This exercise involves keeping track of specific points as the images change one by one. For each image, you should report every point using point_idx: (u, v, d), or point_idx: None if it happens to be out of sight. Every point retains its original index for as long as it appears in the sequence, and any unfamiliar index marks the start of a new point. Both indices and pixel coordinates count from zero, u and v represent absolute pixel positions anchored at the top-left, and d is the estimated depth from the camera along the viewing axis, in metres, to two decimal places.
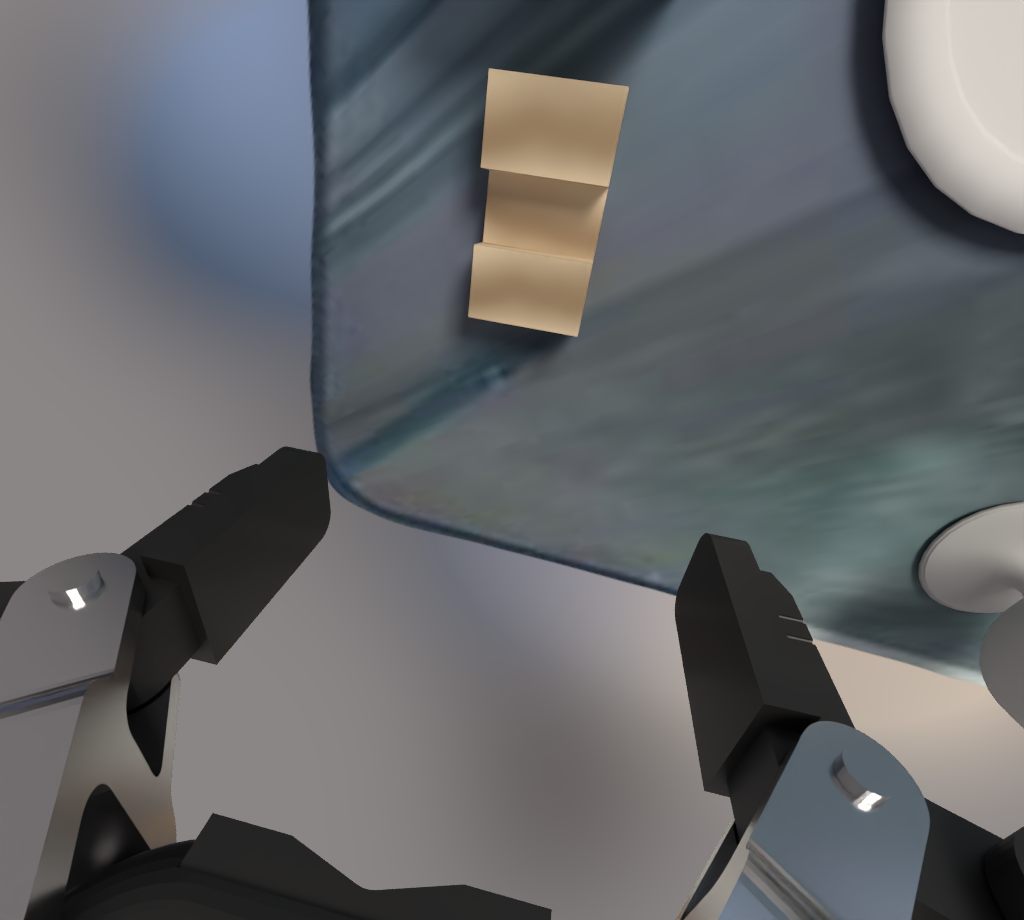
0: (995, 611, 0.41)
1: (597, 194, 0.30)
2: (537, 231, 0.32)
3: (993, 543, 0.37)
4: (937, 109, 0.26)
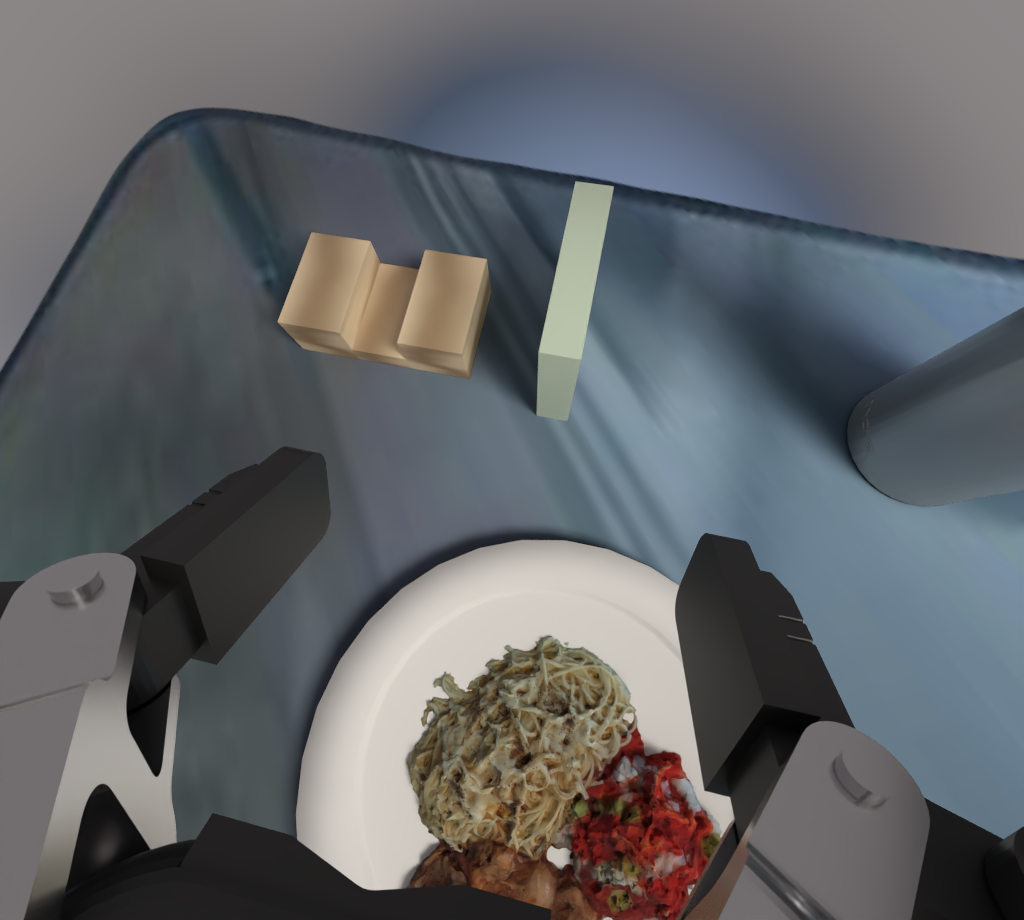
0: None
1: None
2: (381, 305, 0.37)
3: None
4: (427, 605, 0.31)
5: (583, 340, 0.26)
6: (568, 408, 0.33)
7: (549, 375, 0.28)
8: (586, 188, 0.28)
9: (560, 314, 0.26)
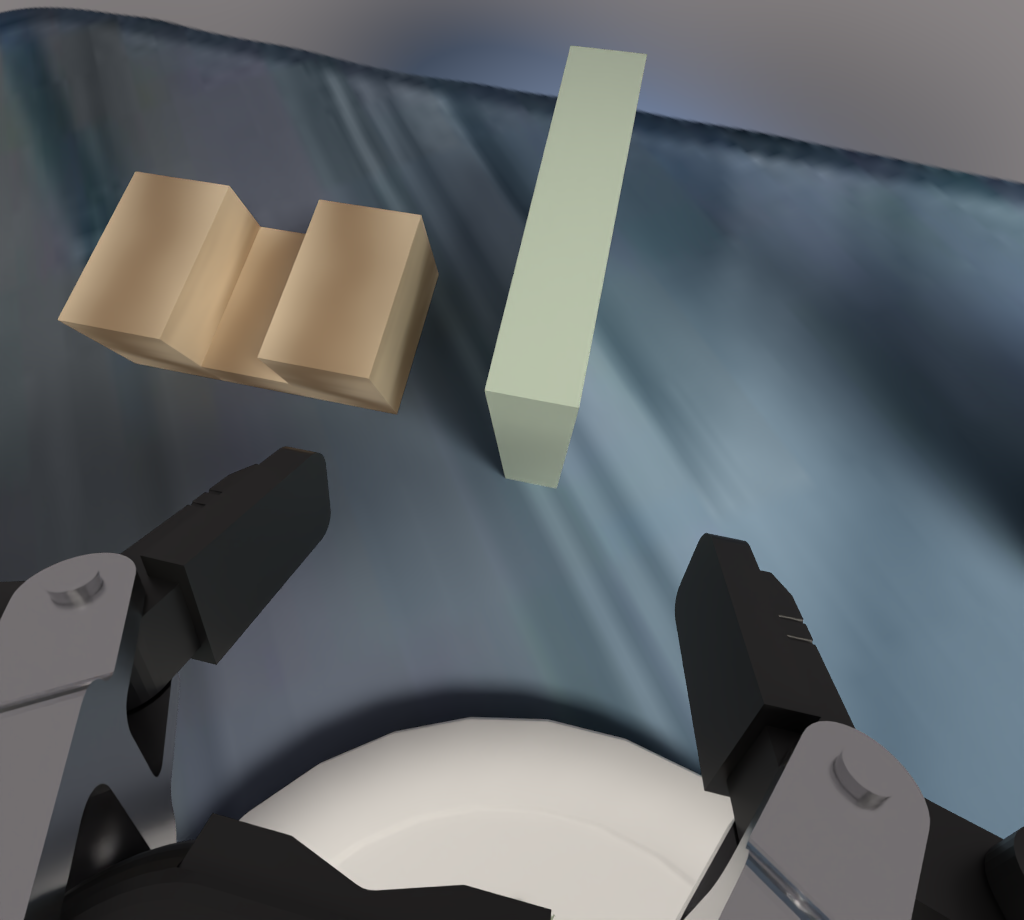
0: None
1: None
2: (256, 294, 0.22)
3: None
4: None
5: (584, 364, 0.12)
6: (557, 475, 0.18)
7: (516, 429, 0.14)
8: (592, 58, 0.14)
9: (535, 307, 0.12)
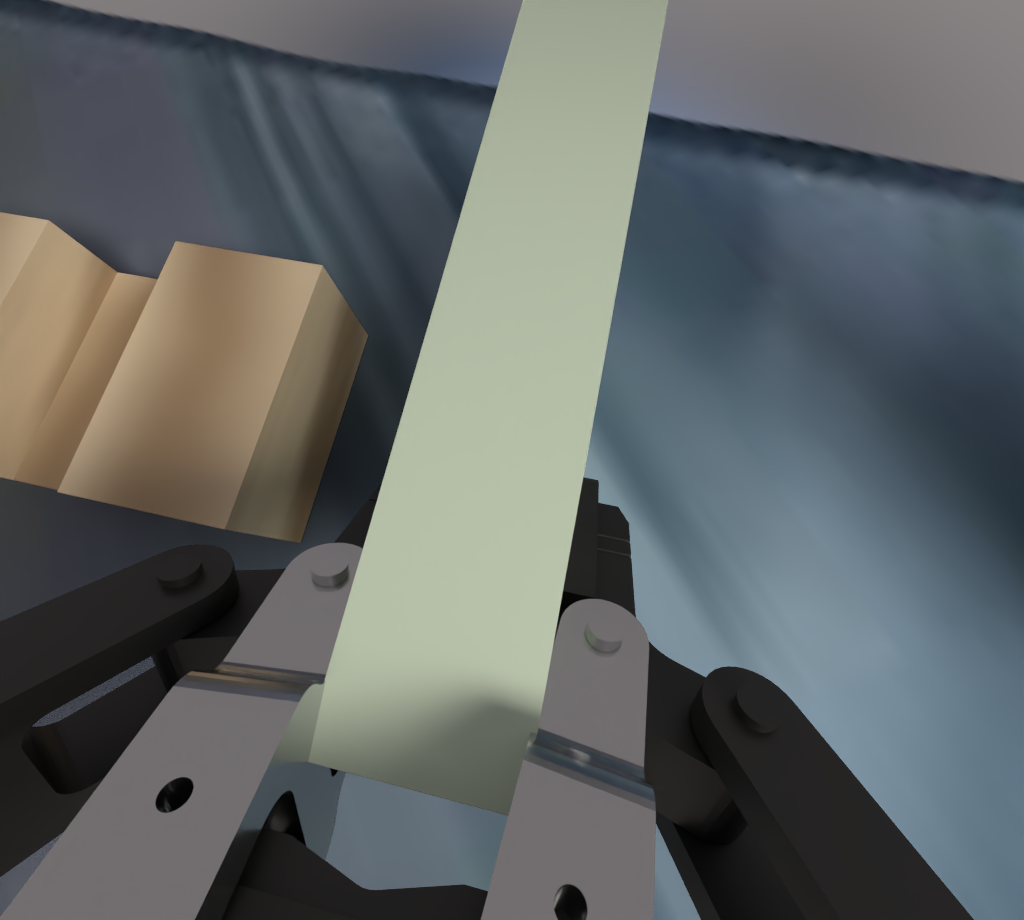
0: None
1: None
2: (102, 370, 0.16)
3: None
4: None
5: (538, 692, 0.05)
6: None
7: None
8: (566, 6, 0.08)
9: (434, 537, 0.05)
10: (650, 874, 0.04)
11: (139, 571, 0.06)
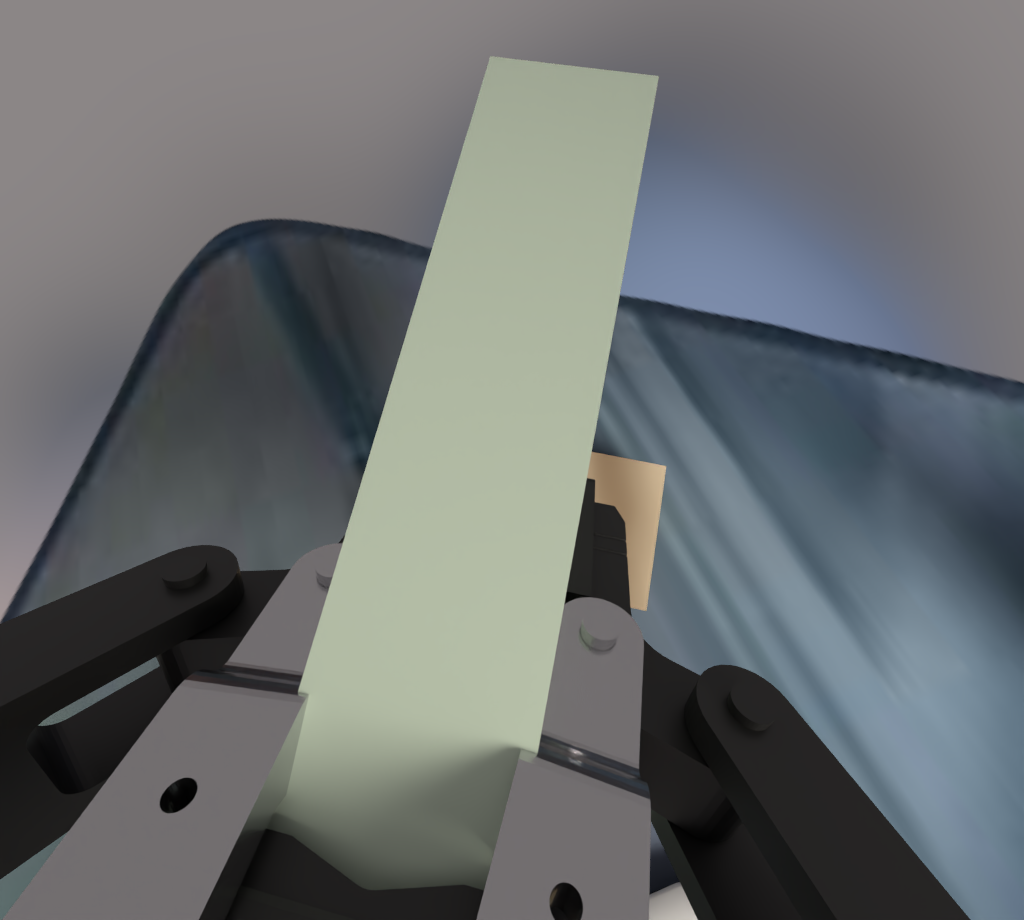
0: None
1: None
2: None
3: None
4: None
5: None
6: None
7: None
8: (535, 85, 0.06)
9: (346, 817, 0.04)
10: (644, 871, 0.04)
11: (145, 571, 0.06)
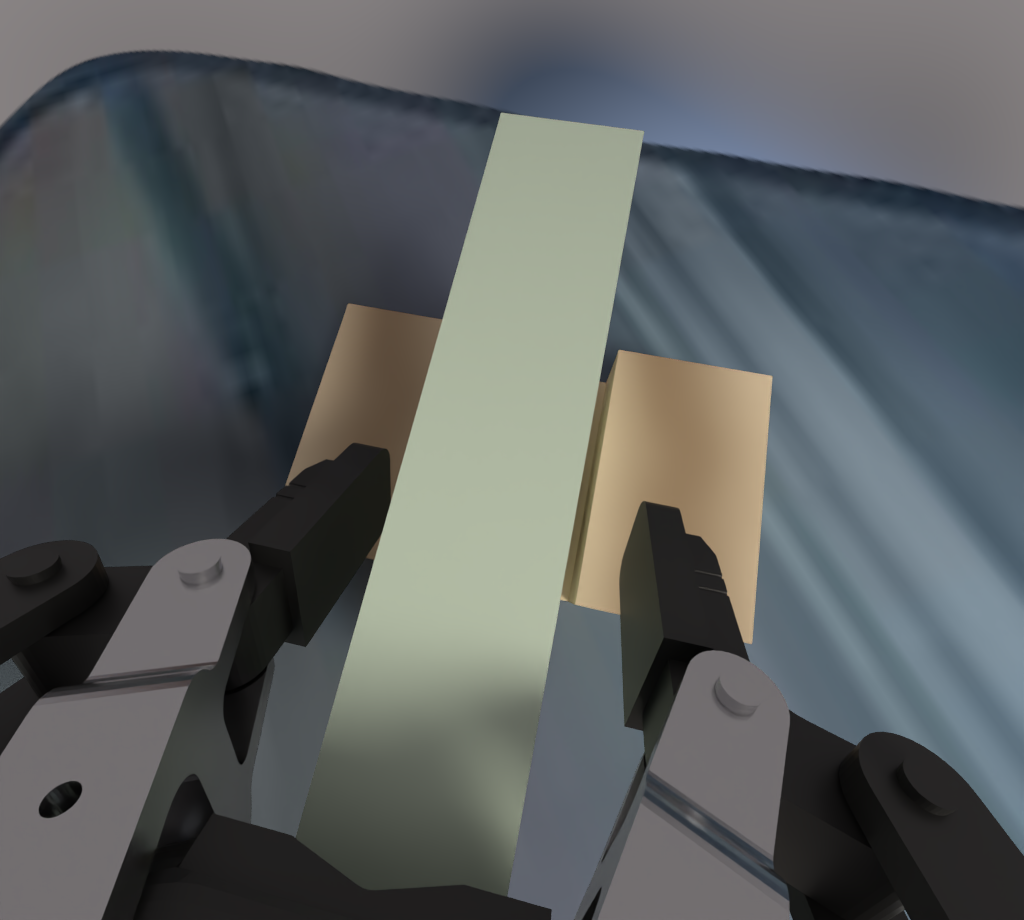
0: None
1: None
2: None
3: None
4: None
5: None
6: None
7: None
8: (539, 139, 0.08)
9: (392, 738, 0.05)
10: None
11: None
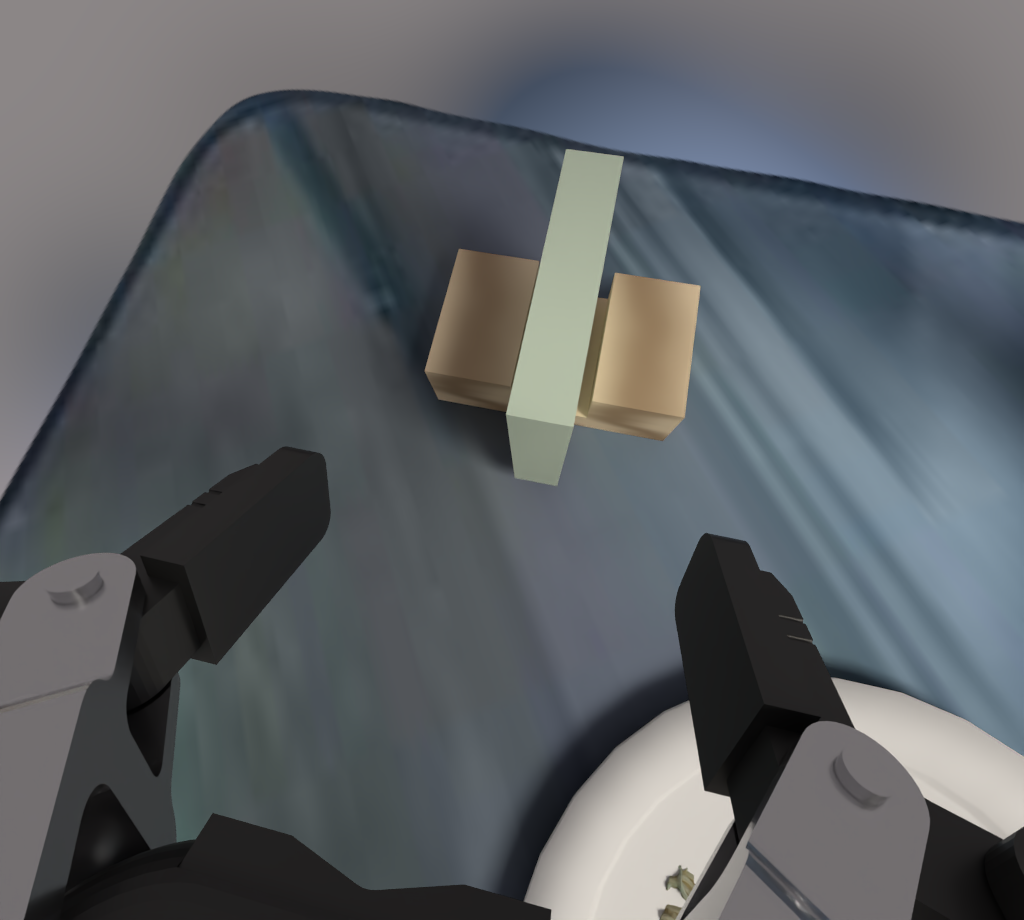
0: None
1: (580, 406, 0.27)
2: None
3: None
4: (651, 771, 0.22)
5: (577, 395, 0.16)
6: (557, 475, 0.23)
7: (527, 440, 0.19)
8: (582, 159, 0.19)
9: (542, 353, 0.17)
10: None
11: None
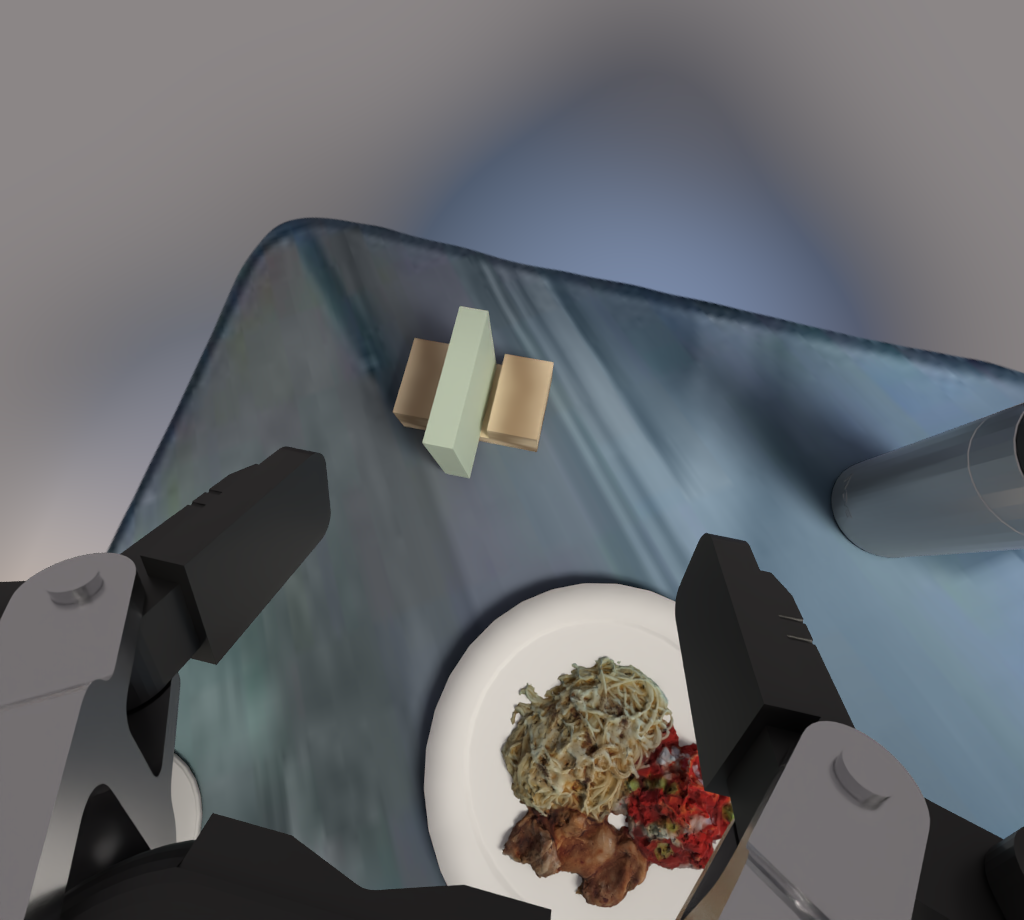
0: None
1: (486, 431, 0.45)
2: None
3: None
4: (513, 633, 0.41)
5: (455, 434, 0.35)
6: (464, 471, 0.42)
7: (438, 454, 0.37)
8: (467, 312, 0.38)
9: (440, 413, 0.35)
10: None
11: None
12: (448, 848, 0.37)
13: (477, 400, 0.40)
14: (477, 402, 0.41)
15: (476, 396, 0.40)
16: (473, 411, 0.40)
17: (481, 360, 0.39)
